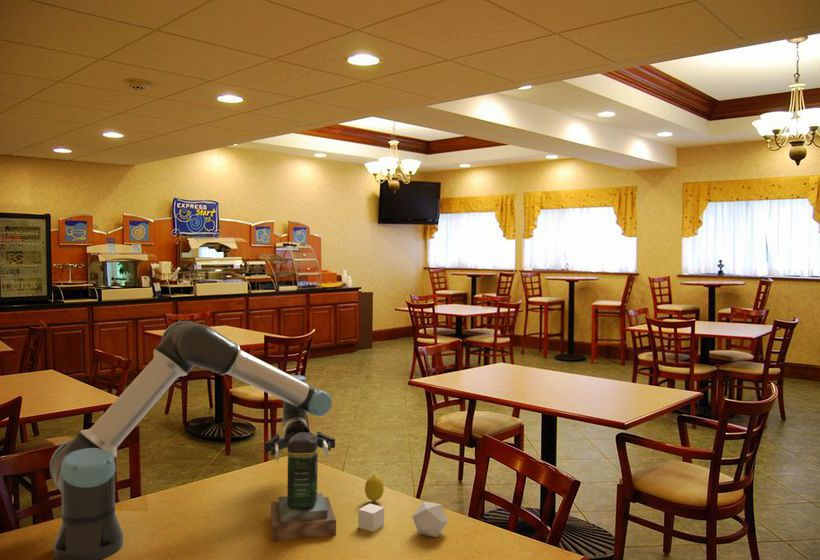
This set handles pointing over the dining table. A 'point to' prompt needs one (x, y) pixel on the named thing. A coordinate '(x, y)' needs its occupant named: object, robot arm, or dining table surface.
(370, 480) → the lemon
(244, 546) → the dining table surface
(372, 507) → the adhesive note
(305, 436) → the coffee jar
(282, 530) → the tower stand
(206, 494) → the dining table surface
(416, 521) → the die
